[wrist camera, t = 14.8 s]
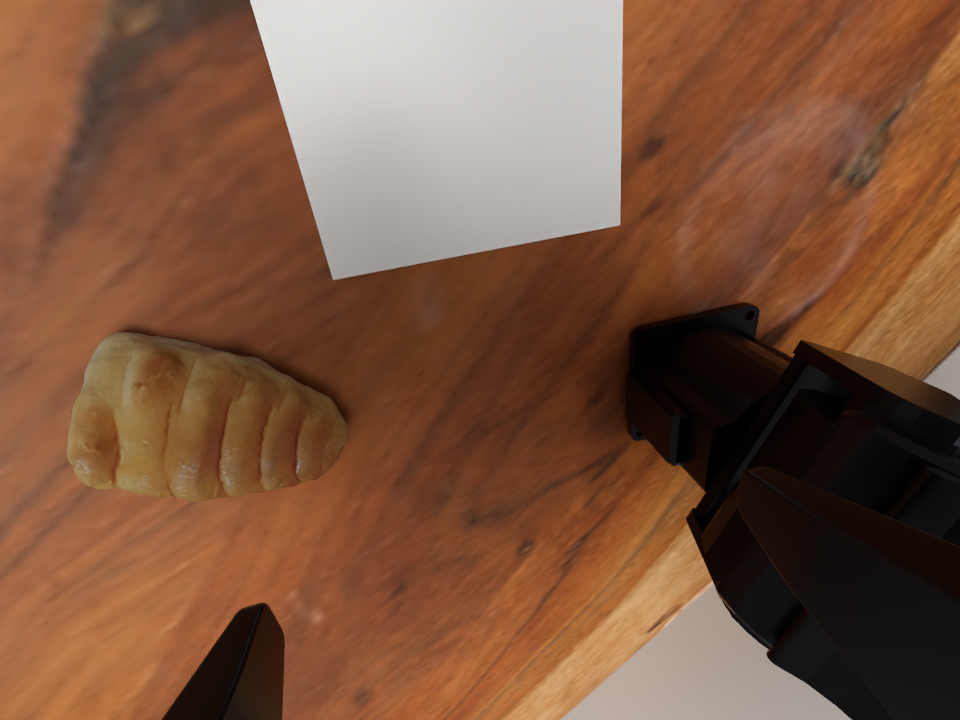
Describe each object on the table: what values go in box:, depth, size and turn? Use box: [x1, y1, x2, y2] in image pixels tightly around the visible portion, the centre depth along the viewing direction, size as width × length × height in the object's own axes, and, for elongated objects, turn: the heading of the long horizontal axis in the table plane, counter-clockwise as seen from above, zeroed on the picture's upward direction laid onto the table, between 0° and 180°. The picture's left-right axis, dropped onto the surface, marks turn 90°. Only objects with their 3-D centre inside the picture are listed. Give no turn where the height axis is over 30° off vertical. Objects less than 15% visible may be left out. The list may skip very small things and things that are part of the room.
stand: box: [250, 0, 623, 280], centre depth 15 cm, size 11×11×2 cm
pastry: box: [67, 332, 349, 502], centre depth 18 cm, size 9×7×4 cm
